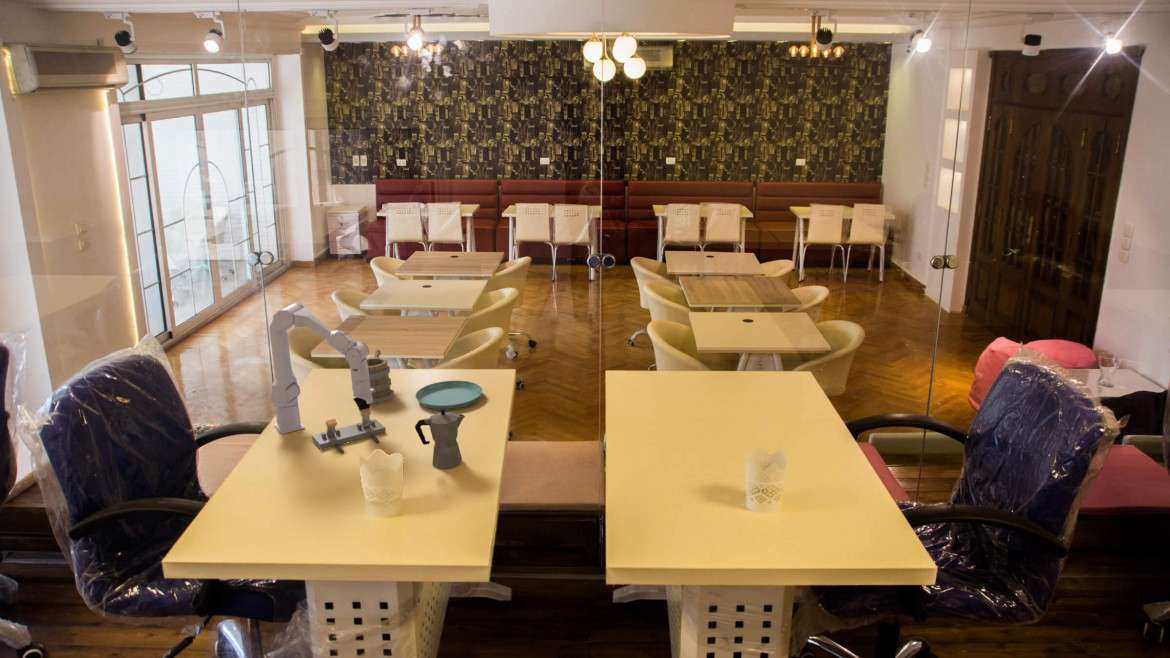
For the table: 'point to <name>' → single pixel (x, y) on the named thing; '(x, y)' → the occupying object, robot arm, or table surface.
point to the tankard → (379, 379)
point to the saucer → (449, 395)
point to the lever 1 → (331, 427)
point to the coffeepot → (443, 438)
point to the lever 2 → (365, 417)
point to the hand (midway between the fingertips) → (365, 417)
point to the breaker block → (349, 435)
